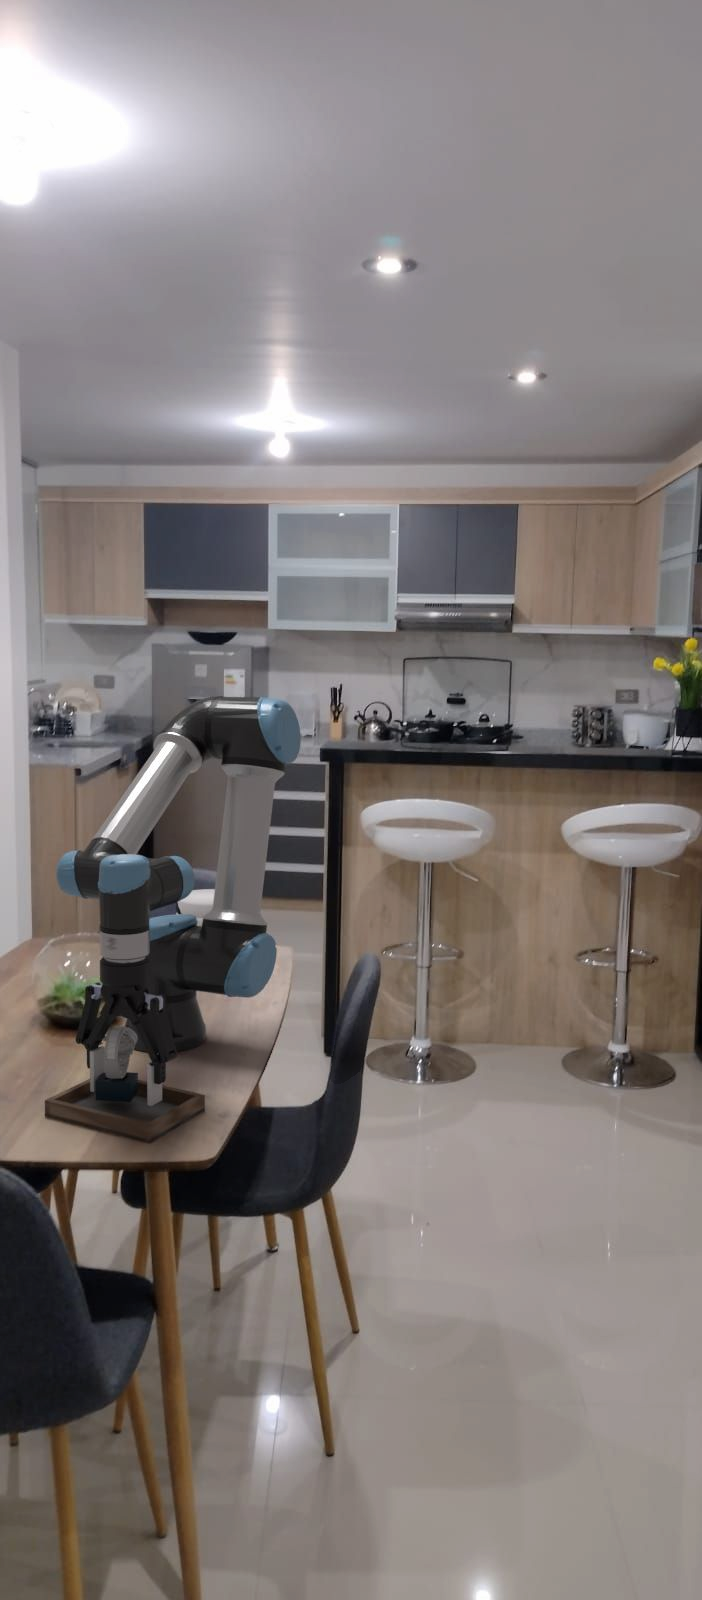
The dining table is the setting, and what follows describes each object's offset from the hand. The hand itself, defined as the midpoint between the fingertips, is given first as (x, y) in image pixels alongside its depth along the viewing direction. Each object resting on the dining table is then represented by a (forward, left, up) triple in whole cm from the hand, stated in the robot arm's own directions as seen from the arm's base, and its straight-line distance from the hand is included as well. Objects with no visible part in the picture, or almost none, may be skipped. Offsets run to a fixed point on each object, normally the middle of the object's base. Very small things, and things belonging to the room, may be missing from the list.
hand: (125, 1095), depth 174 cm
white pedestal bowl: (-72, -34, -3) cm, 80 cm away
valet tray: (0, 0, -3) cm, 3 cm away
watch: (-1, -2, -1) cm, 3 cm away
